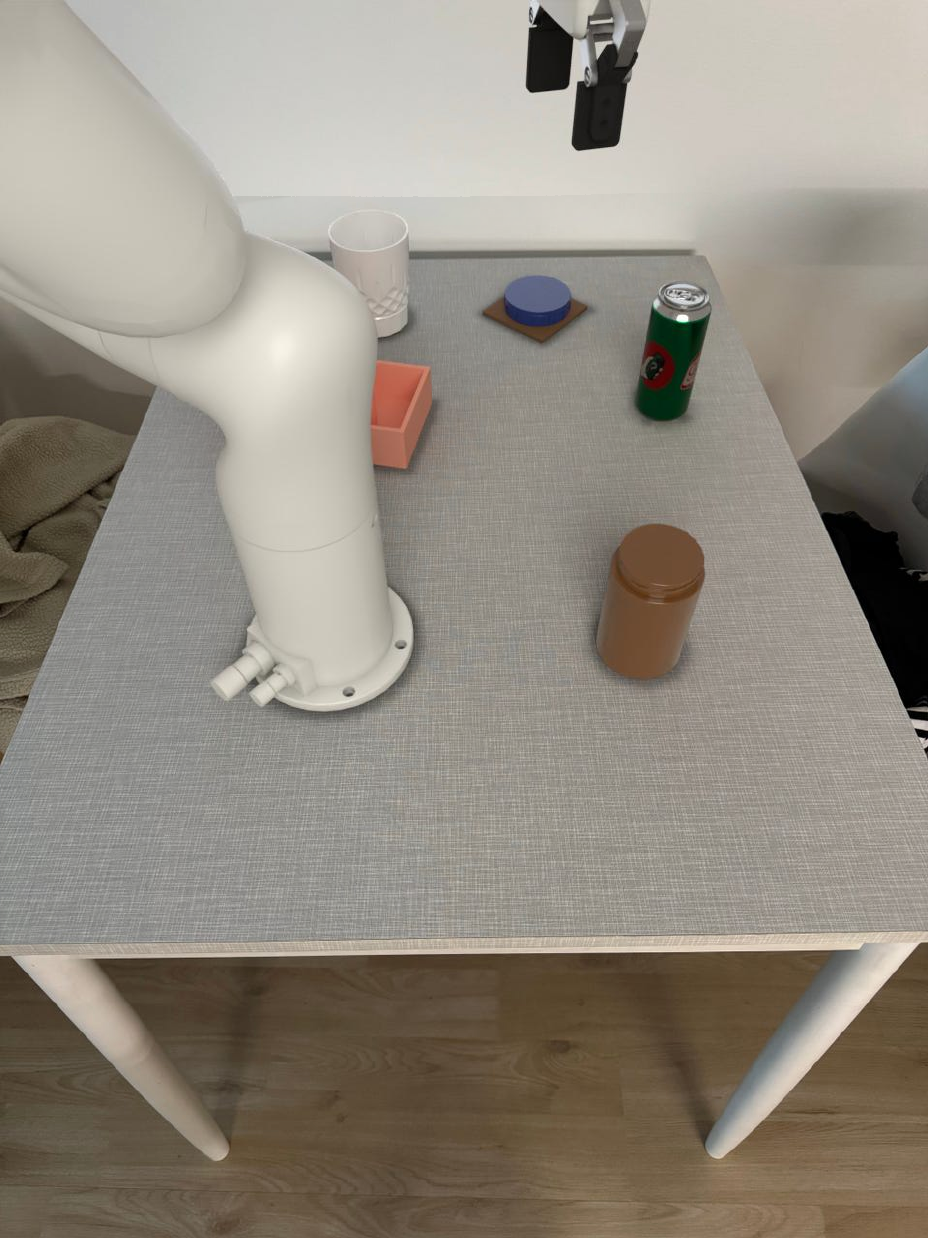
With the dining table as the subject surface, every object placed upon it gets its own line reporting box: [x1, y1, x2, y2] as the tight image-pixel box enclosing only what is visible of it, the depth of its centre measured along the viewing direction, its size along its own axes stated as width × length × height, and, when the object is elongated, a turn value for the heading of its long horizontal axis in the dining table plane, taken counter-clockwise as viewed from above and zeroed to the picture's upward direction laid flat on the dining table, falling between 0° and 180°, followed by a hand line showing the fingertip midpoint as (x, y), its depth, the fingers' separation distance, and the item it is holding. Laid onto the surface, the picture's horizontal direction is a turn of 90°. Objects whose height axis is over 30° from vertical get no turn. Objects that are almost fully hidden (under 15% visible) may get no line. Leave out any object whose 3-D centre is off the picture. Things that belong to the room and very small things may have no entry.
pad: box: [482, 296, 588, 344], centre depth 94 cm, size 8×8×1 cm
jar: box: [595, 523, 706, 680], centre depth 63 cm, size 6×6×10 cm
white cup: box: [327, 209, 410, 339], centre depth 89 cm, size 8×8×10 cm
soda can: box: [634, 280, 713, 422], centre depth 79 cm, size 5×5×12 cm
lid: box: [503, 274, 572, 326], centre depth 93 cm, size 7×7×2 cm
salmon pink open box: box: [371, 359, 433, 470], centre depth 79 cm, size 18×10×10 cm, turn 77°
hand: (569, 116), depth 61 cm, fingers open, 9 cm apart
